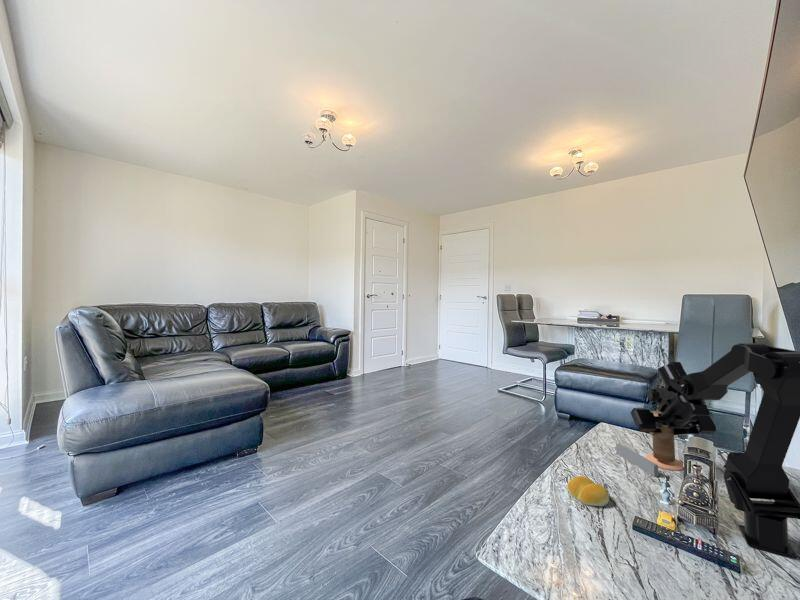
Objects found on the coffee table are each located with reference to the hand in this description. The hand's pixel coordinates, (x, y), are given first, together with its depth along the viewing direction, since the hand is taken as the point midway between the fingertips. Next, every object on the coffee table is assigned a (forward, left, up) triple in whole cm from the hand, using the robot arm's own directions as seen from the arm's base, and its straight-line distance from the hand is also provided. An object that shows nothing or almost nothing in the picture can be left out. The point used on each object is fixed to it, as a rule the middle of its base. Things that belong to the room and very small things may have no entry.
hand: (660, 433), depth 98 cm
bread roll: (-31, +17, -8) cm, 36 cm away
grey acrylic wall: (-6, +6, -8) cm, 12 cm away
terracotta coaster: (-1, -1, -8) cm, 8 cm away
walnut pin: (-1, -1, -7) cm, 7 cm away
